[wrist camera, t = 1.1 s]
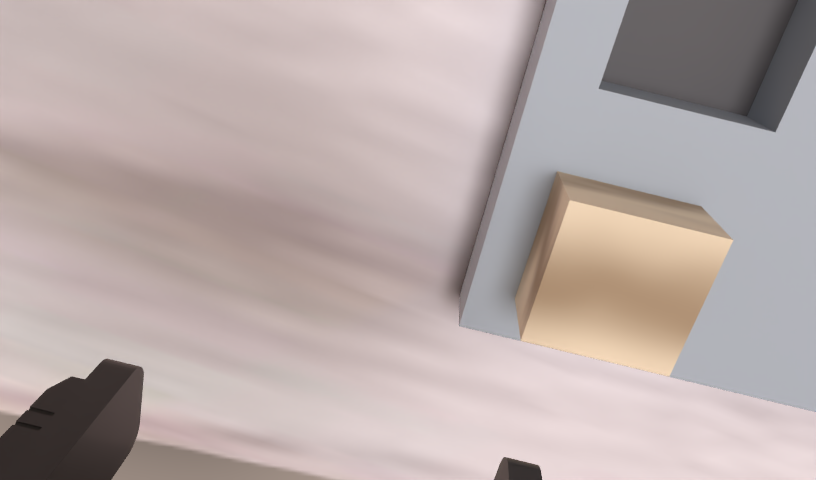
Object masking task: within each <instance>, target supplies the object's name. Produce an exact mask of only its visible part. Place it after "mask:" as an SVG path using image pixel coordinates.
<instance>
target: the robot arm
mask: <svg viewBox="0 0 816 480" xmlns="http://www.w3.org/2000/svg"><path fill="white" fill-rule="evenodd" d="M143 377H144V372H143V369H142V367H139V366H135V365H131V364H127V363H123V362H118V361H114V360H110V359H105V360H103V361H102V362H101V363H100V364H99V365H98V366H97V367H96V368H95V369H94V370H93V372H92V373H91V374H90V375H89V376H88V377H87V378H86V379H85V380H84V379H80V378H76V377H70V378H68V379H66V380H64V381H62V382H60V383H58V384H56V385H54V386H52V387H51V388H49V389H47V390H46V391H45V392H44V393H43V394H42V395H41V396H40V397H39V398H38V399H37V400H36V401H35V402H34V403H33V404H32V405H31V406H30V409H29V411H28V410H27V411H26V412H25V413H24V414H23V415H22V416H21V417H20V418H19V419H18V420H17V421H16V424H15V425H12V426H11V427H10V428H9V429H8V430H7V431H6V432H5V433H4V434H3V435H2V436H1V437H0V480H111V479H112V478H113V476H114V475H115V473H116V472H117V470H118V469H119V467H120V466H121V464H122V463H123V462H124V460H125V459H126V457H127V456H128V454H129V453H130V451H131V449H132V447H133V444H134V442H135V440H136V437H137V434H138V430H139V425H140V414H141V402H142V390H143ZM494 480H542V475H541V470H540V467H539V466H538V465H535V464H531V463H527V462H523V461H519V460H515V459H511V458H506V457H504V458H503V459H502V461H501V463H500V465H499V468H498V471H497V473H496V476H495V479H494Z"/></svg>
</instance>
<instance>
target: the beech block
mask: <svg viewBox="0 0 816 480" xmlns="http://www.w3.org/2000/svg"><path fill="white" fill-rule="evenodd" d="M732 242H733V239H732V238H731V237H730V236H729V235H728V234H727V233H726V232H725V231H724V230H723V229H722V228H721V227H720V225H719V224H718V223H717V222H716V221H715V220H714V219H713V218H712V217H711V216H710V215H709V214H708V213H707V212H706V211H705V210H704V209H703V208H702V207H701V206H698V205H694V204H690V203H686V202H681V201H677V200H673V199H669V198H665V197H661V196H657V195H653V194H649V193H645V192H641V191H636V190H632V189H628V188H624V187H620V186H616V185H612V184H608V183H604V182H600V181H596V180H592V179H587V178H583V177H579V176H575V175H571V174H567V173H563V172H559V171H557V174H556V177H555V180H554V183H553V186H552V189H551V192H550V195H549V198H548V201H547V204H546V207H545V210H544V213H543V216H542V218H541V221H540V224H539V227H538V230H537V233H536V236H535V239H534V242H533V245H532V248H531V251H530V254H529V257H528V260H527V263H526V266H525V269H524V272H523V275H522V278H521V281H520V284H519V287H518V290H517V293H516V296H515V304H516V311H517V318H518V325H519V332H520V339H521V341H524V342H528V343H532V344H536V345H540V346H544V347H549V348H553V349H557V350H561V351H565V352H569V353H573V354H578V355H582V356H586V357H590V358H594V359H598V360H603V361H607V362H611V363H615V364H619V365H623V366H627V367H632V368H636V369H640V370H644V371H648V372H652V373H656V374H661V375H665V376H670V374H671V372H672V370H673V368H674V366H675V364H676V361H677V359H678V357H679V355H680V353H681V351H682V349H683V347H684V344H685V342H686V340H687V338H688V336H689V334H690V332H691V329H692V327H693V325H694V323H695V321H696V319H697V317H698V315H699V312H700V310H701V308H702V306H703V304H704V302H705V300H706V298H707V295H708V293H709V291H710V289H711V287H712V285H713V283H714V280H715V278H716V276H717V274H718V272H719V270H720V268H721V266H722V263H723V261H724V259H725V257H726V255H727V253H728V251H729V249H730V246H731V244H732Z"/></svg>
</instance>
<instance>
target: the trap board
mask: <svg viewBox="0 0 816 480" xmlns="http://www.w3.org/2000/svg"><path fill="white" fill-rule="evenodd" d="M557 171H559V172H563V173H567V174H571V175H575V176H579V177H583V178H587V179H592V180H596V181H600V182H604V183H608V184H612V185H616V186H620V187H624V188H628V189H632V190H636V191H641V192H645V193H649V194H653V195H657V196H661V197H665V198H669V199H673V200H677V201H681V202H686V203H690V204H694V205H698V206H701V207H702V208H703V209H704V210H705V211H706V212H707V213H708V214H709V215H710V216H711V217H712V218H713V219H714V220H715V221H716V222H717V223H718V224H719V225H720V227H721V228H722V229H723V230H724V231H725V232H726V233H727V234H728V235H729V236H730V237H731V238H732V239H733V242H732V244H731V246H730V249H729V251H728V253H727V255H726V257H725V259H724V261H723V263H722V266H721V268H720V270H719V272H718V274H717V276H716V278H715V280H714V283H713V285H712V287H711V289H710V291H709V293H708V295H707V298H706V300H705V302H704V304H703V306H702V308H701V310H700V312H699V315H698V317H697V319H696V321H695V323H694V325H693V327H692V329H691V332H690V334H689V336H688V338H687V340H686V342H685V344H684V347H683V349H682V351H681V353H680V355H679V357H678V359H677V361H676V364H675V366H674V368H673V370H672V372H671V374H670V376H668V377H672V378H677V379H681V380H685V381H689V382H693V383H697V384H701V385H706V386H710V387H714V388H718V389H722V390H726V391H731V392H735V393H739V394H743V395H747V396H751V397H755V398H760V399H764V400H768V401H772V402H776V403H780V404H784V405H789V406H793V407H797V408H801V409H805V410H809V411H814V412H816V0H546V4H545V7H544V11H543V14H542V17H541V21H540V24H539V28H538V31H537V34H536V38H535V41H534V45H533V48H532V51H531V55H530V58H529V62H528V65H527V68H526V72H525V75H524V78H523V82H522V85H521V89H520V92H519V95H518V99H517V102H516V106H515V109H514V112H513V116H512V119H511V123H510V126H509V129H508V133H507V136H506V140H505V143H504V146H503V150H502V153H501V157H500V160H499V163H498V167H497V170H496V174H495V177H494V180H493V184H492V187H491V191H490V194H489V197H488V201H487V204H486V207H485V211H484V214H483V218H482V221H481V224H480V228H479V231H478V235H477V238H476V241H475V245H474V248H473V252H472V255H471V258H470V262H469V265H468V269H467V272H466V275H465V279H464V282H463V286H462V289H461V292H460V305H459V326H461V327H465V328H469V329H473V330H477V331H482V332H486V333H490V334H494V335H498V336H502V337H506V338H511V339H515V340H519V341H521V339H520V332H519V325H518V318H517V311H516V304H515V296H516V293H517V290H518V287H519V284H520V281H521V278H522V275H523V272H524V269H525V266H526V263H527V260H528V257H529V254H530V251H531V248H532V245H533V242H534V239H535V236H536V233H537V230H538V227H539V224H540V221H541V218H542V216H543V213H544V210H545V207H546V204H547V201H548V198H549V195H550V192H551V189H552V186H553V183H554V180H555V177H556V174H557ZM523 342H524V341H523ZM527 343H528V342H527ZM531 344H532V343H531ZM548 348H549V347H548ZM552 349H553V348H552ZM556 350H557V349H556ZM560 351H561V350H560ZM577 355H578V354H577ZM581 356H582V355H581ZM585 357H586V356H585ZM589 358H590V357H589ZM602 361H603V360H602ZM606 362H607V361H606ZM610 363H611V362H610ZM614 364H615V363H614ZM631 368H632V367H631ZM635 369H636V368H635ZM639 370H640V369H639ZM643 371H644V370H643ZM660 375H661V374H660ZM664 376H665V375H664Z"/></svg>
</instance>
